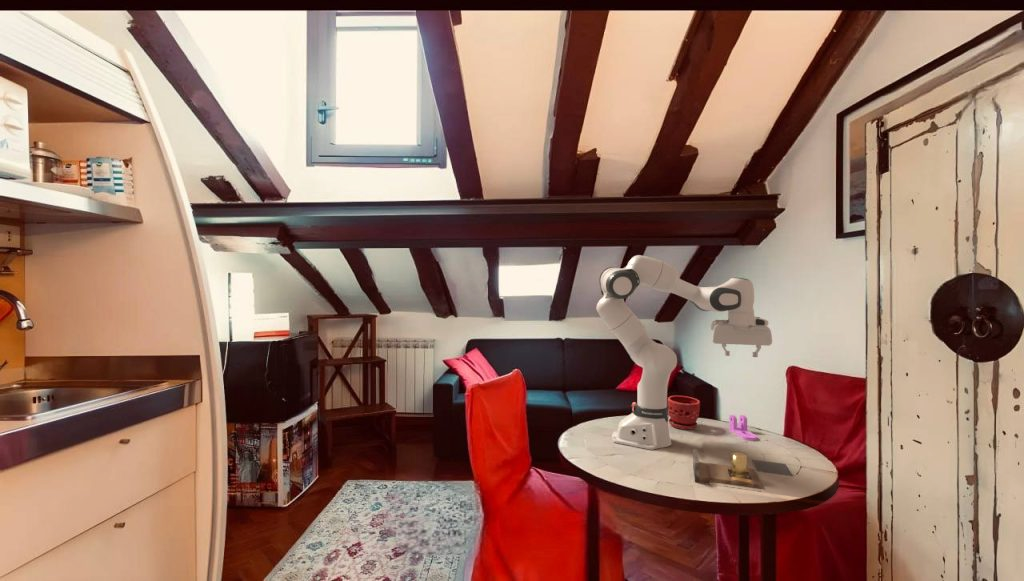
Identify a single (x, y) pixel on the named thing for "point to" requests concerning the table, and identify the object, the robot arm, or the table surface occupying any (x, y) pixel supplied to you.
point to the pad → (772, 467)
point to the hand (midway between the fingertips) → (741, 356)
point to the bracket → (741, 428)
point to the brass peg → (739, 465)
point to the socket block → (721, 474)
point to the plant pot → (683, 411)
